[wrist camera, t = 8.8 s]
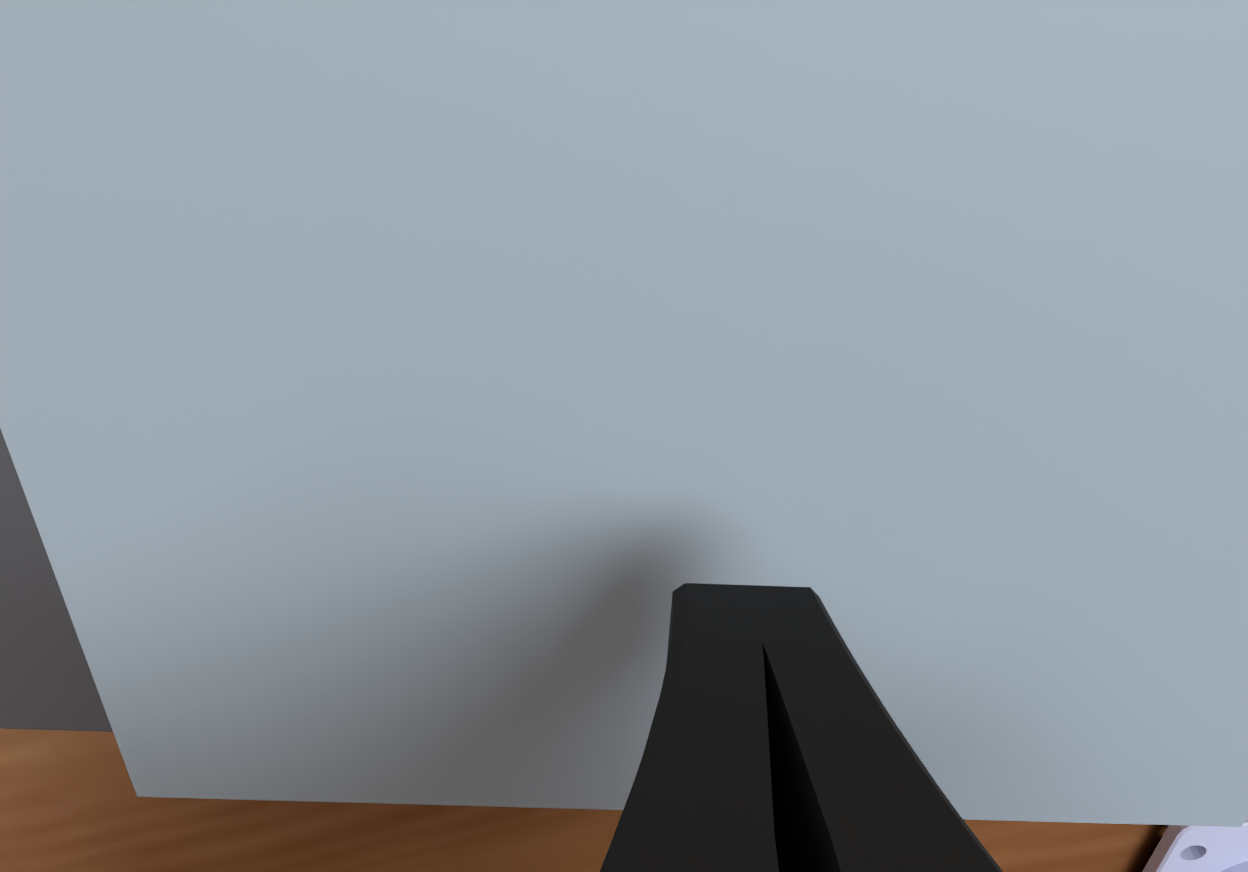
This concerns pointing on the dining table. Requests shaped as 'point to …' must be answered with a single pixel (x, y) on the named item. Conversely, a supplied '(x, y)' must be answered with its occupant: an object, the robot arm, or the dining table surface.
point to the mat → (37, 629)
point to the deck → (635, 380)
